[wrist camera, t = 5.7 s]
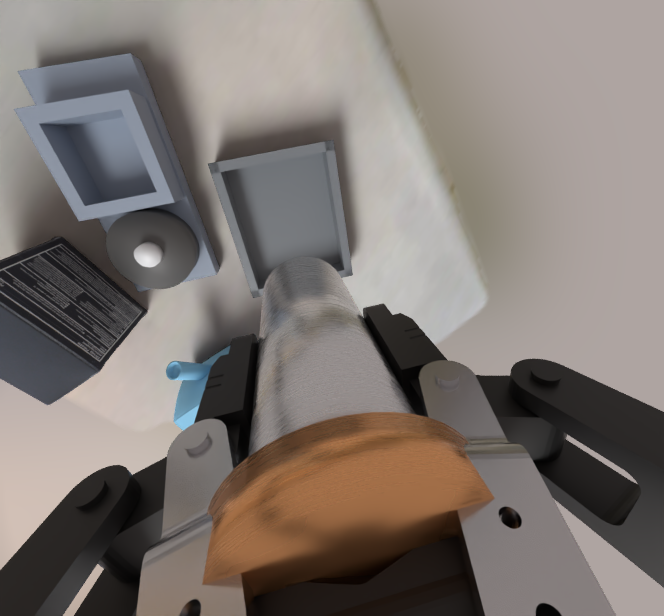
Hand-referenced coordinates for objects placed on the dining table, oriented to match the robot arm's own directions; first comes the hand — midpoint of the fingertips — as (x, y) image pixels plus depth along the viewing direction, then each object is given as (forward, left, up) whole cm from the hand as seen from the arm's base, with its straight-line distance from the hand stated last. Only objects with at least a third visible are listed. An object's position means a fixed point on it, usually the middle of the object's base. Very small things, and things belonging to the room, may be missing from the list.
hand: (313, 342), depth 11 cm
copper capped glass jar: (0, 0, -4) cm, 4 cm away
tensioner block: (-6, -12, -23) cm, 27 cm away
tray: (0, 0, -23) cm, 23 cm away
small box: (+3, -22, -24) cm, 33 cm away
